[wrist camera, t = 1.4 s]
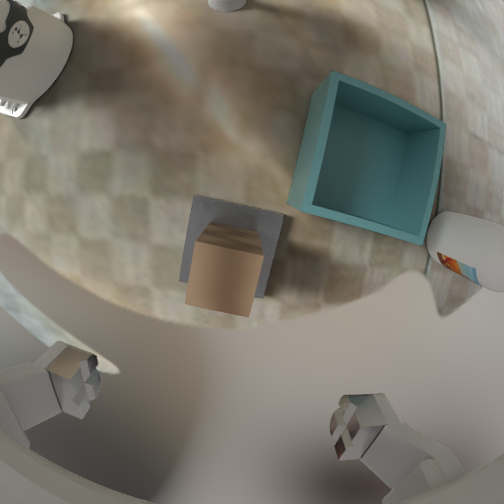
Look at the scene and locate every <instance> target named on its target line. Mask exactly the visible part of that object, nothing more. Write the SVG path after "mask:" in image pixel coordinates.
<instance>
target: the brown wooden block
mask: <svg viewBox="0 0 504 504" xmlns="http://www.w3.org/2000/svg"><path fill="white" fill-rule="evenodd" d="M263 259H264V253H263V249H262V245H261V242H260V238H259V234H258V231H254V230H249V229H244V228H240V227H235V226H231V225H226V224H221V223H217V222H212V221H211V222H210V223H209V224H208V226H207V227H206V228H205V229H204V231H203V232H202V233H201V234H200V236H199V237H198V238H197V240H196V241H195V245H194V251H193V257H192V262H191V268H190V274H189V281H188V287H187V293H186V300H185V304H188V305H192V306H196V307H201V308H206V309H210V310H215V311H220V312H225V313H229V314H234V315H240V316H245V317H249V315H250V311H251V307H252V303H253V299H254V295H255V291H256V287H257V283H258V279H259V275H260V271H261V267H262V263H263Z"/></svg>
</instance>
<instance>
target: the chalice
mask: <svg viewBox="0 0 504 504" xmlns="http://www.w3.org/2000/svg"><path fill="white" fill-rule="evenodd" d="M246 1H247V0H208V4H209V6H210V7H211V8H213V9H214V10H216V11H220V12H231V11H235V10H238V9H240V8H241V7H243V6H244V5H245V3H246Z"/></svg>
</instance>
